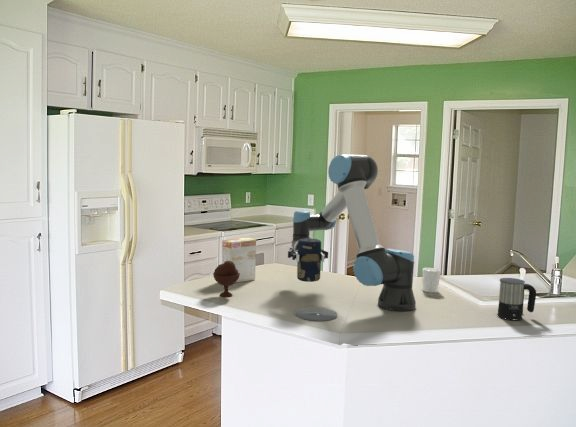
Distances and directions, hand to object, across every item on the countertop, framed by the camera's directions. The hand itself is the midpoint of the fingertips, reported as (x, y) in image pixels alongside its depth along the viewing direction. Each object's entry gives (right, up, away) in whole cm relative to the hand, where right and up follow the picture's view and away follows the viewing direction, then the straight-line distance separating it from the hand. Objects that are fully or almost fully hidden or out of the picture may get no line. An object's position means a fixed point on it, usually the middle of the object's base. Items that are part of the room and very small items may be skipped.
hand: (310, 258), depth 218 cm
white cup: (+56, -18, +32) cm, 67 cm away
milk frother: (+79, -22, -1) cm, 82 cm away
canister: (-1, -10, +5) cm, 11 cm away
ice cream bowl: (-35, -17, +11) cm, 41 cm away
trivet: (+2, -20, -11) cm, 23 cm away
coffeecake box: (-32, -14, +38) cm, 52 cm away
